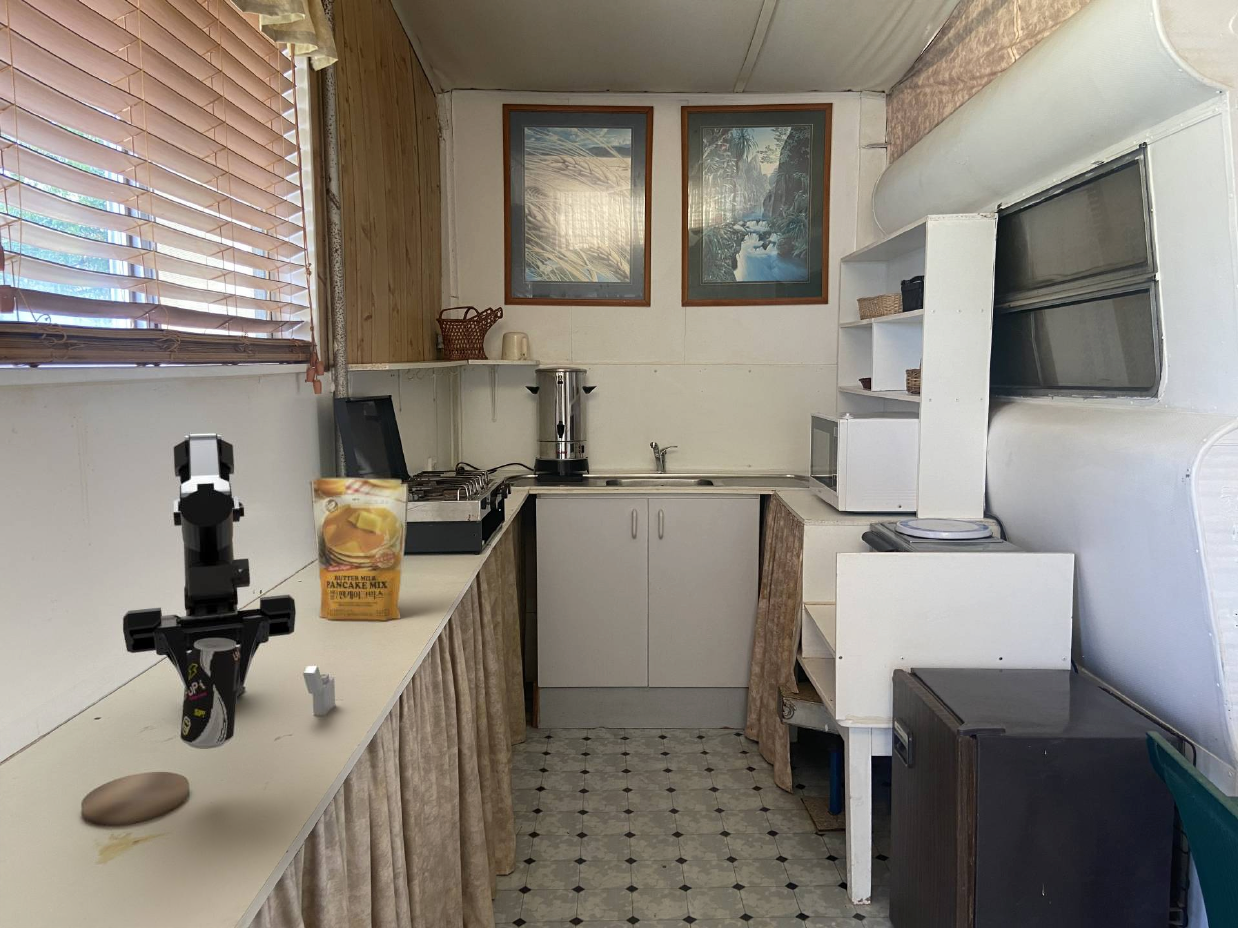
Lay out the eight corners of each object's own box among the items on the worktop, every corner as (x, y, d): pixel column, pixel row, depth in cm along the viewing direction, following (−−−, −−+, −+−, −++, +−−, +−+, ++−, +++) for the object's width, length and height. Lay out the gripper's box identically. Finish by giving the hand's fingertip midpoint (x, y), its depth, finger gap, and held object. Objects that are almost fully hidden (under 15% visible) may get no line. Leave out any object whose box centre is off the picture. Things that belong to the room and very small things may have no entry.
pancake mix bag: (321, 611, 185) (316, 475, 182) (413, 613, 184) (409, 476, 180) (308, 620, 178) (302, 480, 175) (403, 622, 177) (399, 481, 174)
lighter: (324, 704, 135) (322, 652, 134) (335, 704, 134) (333, 652, 134) (304, 723, 128) (302, 668, 127) (316, 723, 127) (314, 668, 127)
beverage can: (168, 742, 105) (177, 641, 104) (211, 729, 110) (220, 633, 109) (201, 755, 102) (210, 652, 102) (243, 742, 108) (252, 643, 107)
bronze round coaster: (60, 824, 99) (59, 816, 99) (116, 779, 110) (116, 771, 110) (159, 825, 99) (158, 817, 99) (206, 779, 110) (205, 772, 110)
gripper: (118, 543, 104) (117, 666, 95) (291, 530, 111) (304, 643, 103) (127, 593, 112) (127, 711, 103) (287, 578, 119) (299, 686, 111)
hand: (215, 687), depth 105 cm, fingers closed on beverage can, 5 cm apart
